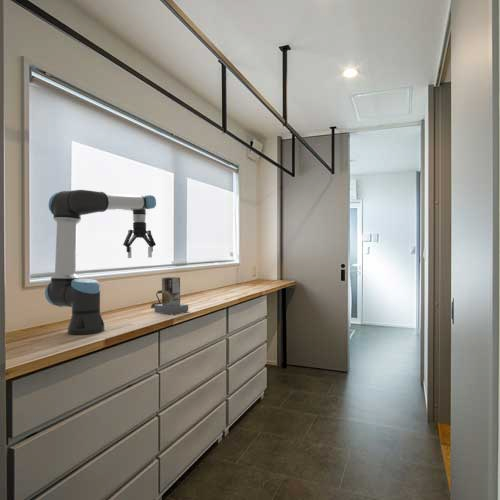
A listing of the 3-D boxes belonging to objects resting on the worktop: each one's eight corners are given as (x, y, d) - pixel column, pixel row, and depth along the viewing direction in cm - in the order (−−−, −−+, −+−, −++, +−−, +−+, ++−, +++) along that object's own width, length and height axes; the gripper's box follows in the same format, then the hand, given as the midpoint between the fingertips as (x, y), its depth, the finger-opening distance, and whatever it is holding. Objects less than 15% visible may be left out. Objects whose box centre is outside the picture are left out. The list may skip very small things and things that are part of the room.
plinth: (171, 314, 206) (171, 307, 206) (154, 311, 216) (154, 305, 216) (188, 311, 215) (188, 304, 215) (171, 309, 225) (171, 302, 225)
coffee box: (180, 304, 216) (180, 277, 216) (172, 306, 210) (172, 278, 210) (169, 303, 221) (169, 276, 221) (161, 305, 215) (161, 277, 215)
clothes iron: (162, 308, 229) (162, 291, 229) (150, 307, 233) (150, 290, 233) (176, 305, 241) (176, 288, 241) (165, 304, 245) (165, 288, 245)
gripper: (154, 223, 230) (154, 257, 230) (116, 221, 211) (117, 258, 211) (161, 222, 225) (161, 257, 225) (123, 220, 206) (123, 258, 206)
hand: (140, 257), depth 218 cm, fingers open, 13 cm apart
